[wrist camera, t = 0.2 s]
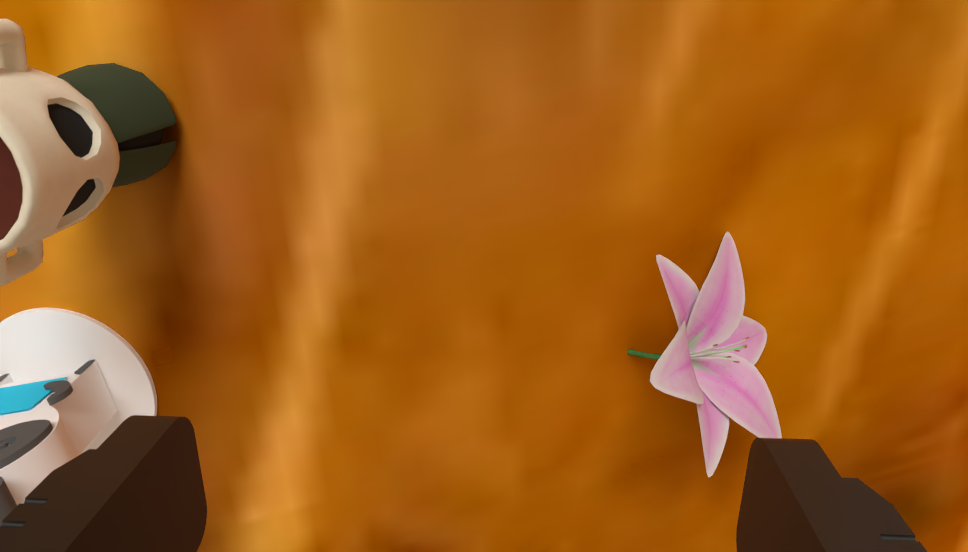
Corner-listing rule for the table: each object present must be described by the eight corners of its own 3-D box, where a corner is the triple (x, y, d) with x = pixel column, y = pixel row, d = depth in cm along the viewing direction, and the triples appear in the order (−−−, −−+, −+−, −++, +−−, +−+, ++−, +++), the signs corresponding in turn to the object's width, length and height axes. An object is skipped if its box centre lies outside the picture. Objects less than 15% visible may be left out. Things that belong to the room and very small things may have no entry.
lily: (740, 420, 44) (868, 459, 35) (571, 461, 40) (665, 516, 31) (719, 230, 43) (844, 219, 34) (546, 254, 40) (634, 248, 31)
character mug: (190, 226, 40) (45, 322, 28) (67, 207, 40) (-132, 294, 28) (189, 27, 36) (20, 37, 24) (52, 5, 36) (-186, 4, 24)
